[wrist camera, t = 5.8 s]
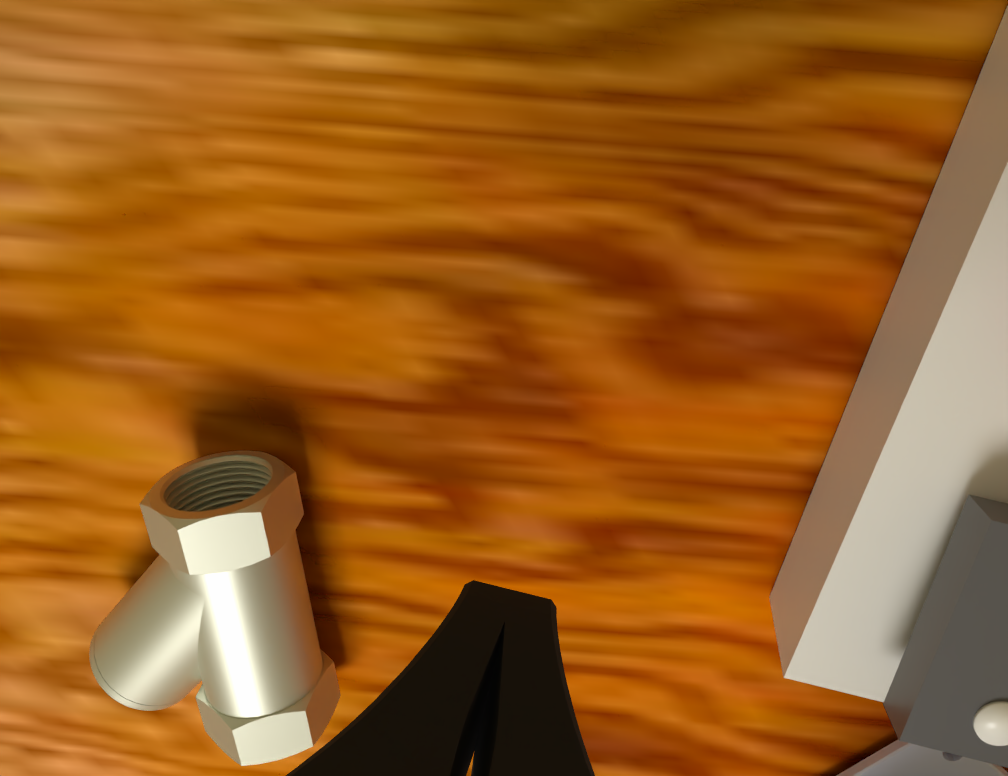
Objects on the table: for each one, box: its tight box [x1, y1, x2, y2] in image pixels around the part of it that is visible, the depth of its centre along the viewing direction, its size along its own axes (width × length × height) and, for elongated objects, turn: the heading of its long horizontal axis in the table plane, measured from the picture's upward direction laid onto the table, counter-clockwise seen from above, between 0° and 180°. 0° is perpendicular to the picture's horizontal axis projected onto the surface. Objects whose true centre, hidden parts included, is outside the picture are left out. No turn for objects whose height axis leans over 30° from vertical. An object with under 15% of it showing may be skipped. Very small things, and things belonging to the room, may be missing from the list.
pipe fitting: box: [89, 450, 340, 766], centre depth 25 cm, size 8×4×7 cm
